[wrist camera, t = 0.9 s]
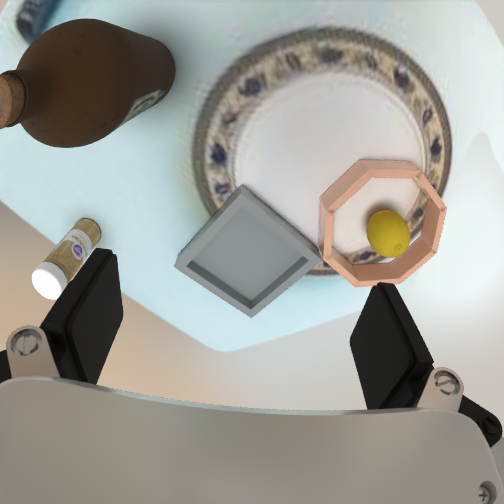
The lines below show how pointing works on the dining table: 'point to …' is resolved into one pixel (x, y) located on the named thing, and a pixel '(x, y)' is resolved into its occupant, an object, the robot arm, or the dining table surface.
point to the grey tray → (247, 253)
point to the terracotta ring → (412, 255)
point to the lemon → (388, 233)
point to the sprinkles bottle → (65, 259)
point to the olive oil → (84, 82)
